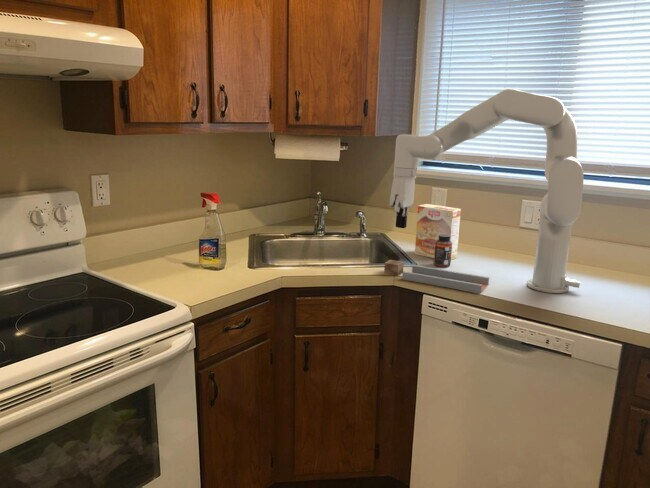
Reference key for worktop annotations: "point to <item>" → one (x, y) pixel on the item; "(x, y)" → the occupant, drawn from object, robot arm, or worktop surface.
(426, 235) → the coffeecake box
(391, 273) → the walnut block
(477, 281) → the channel
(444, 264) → the supplement bottle
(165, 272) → the worktop surface
